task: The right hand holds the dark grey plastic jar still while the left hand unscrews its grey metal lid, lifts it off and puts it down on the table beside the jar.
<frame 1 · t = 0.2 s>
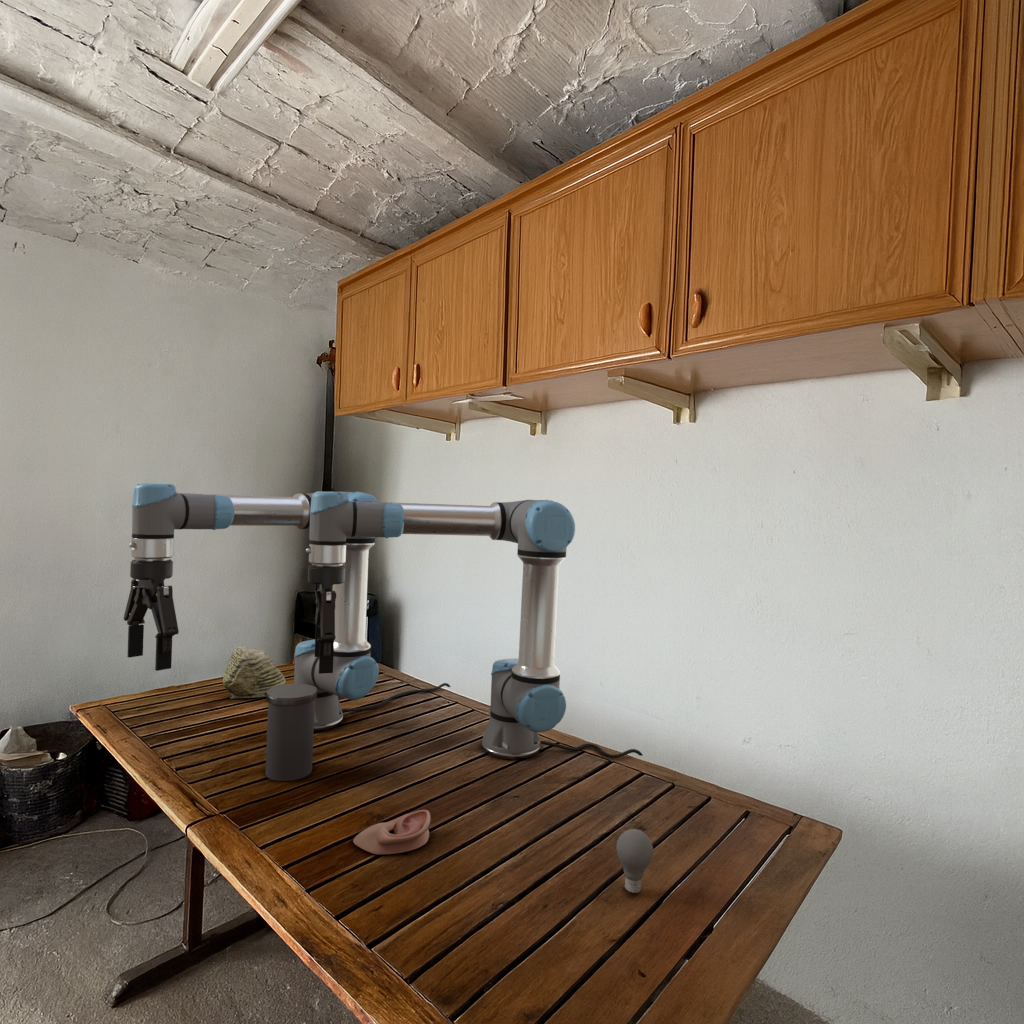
left hand: (148, 662, 129), 28 cm above the table, tool pointing down, fingers open, 13 cm apart
right hand: (323, 664, 134), 28 cm above the table, tool pointing down, fingers open, 13 cm apart
lid: (292, 692, 145), point 18 cm above the table, screwed on, not yet turned
fossil: (254, 694, 198), on the table
light bulb: (632, 891, 106), on the table
jar: (289, 771, 145), on the table
anatomical model: (392, 839, 118), on the table
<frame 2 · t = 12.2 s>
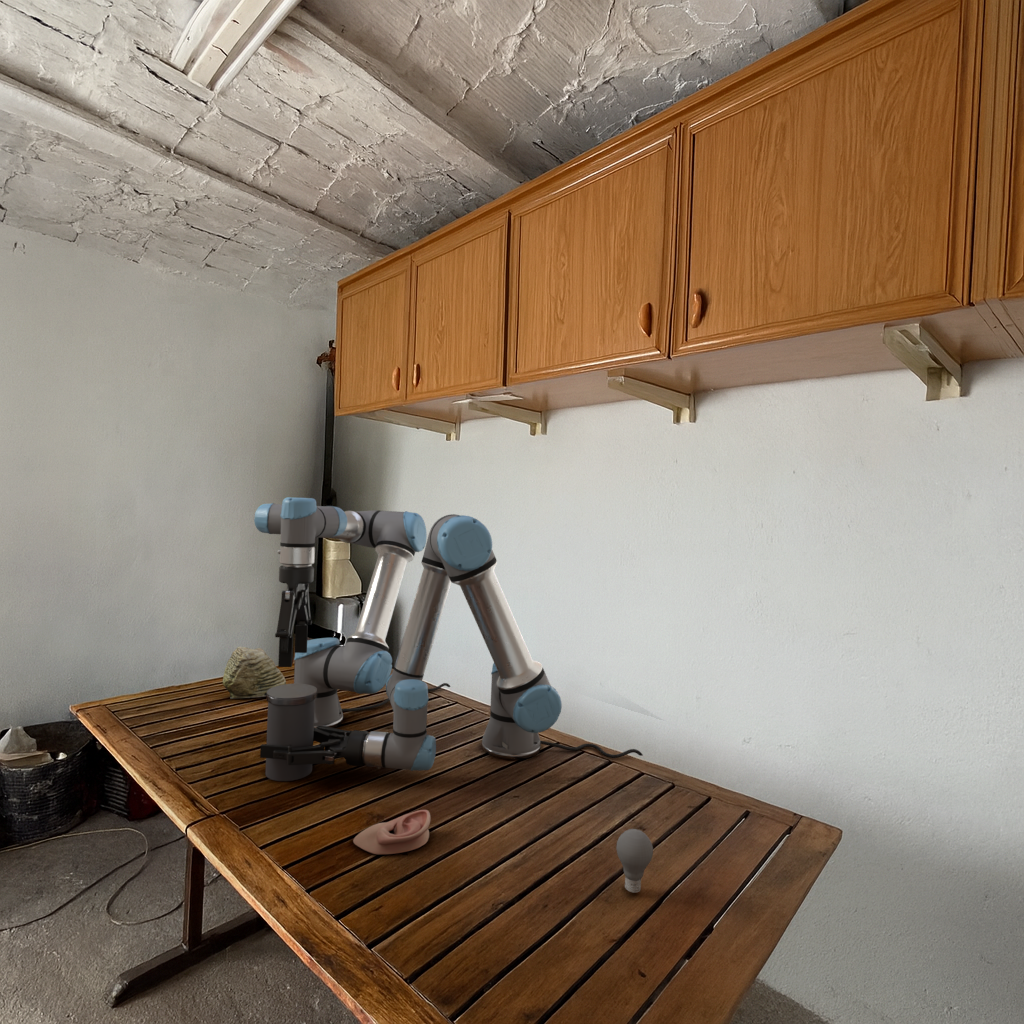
left hand: (293, 659, 145), 26 cm above the table, tool pointing down, fingers open, 12 cm apart
right hand: (272, 741, 145), 7 cm above the table, tool horizontal, fingers closed on jar, 10 cm apart
jar: (289, 771, 145), on the table, touching right hand
everything else where it was.
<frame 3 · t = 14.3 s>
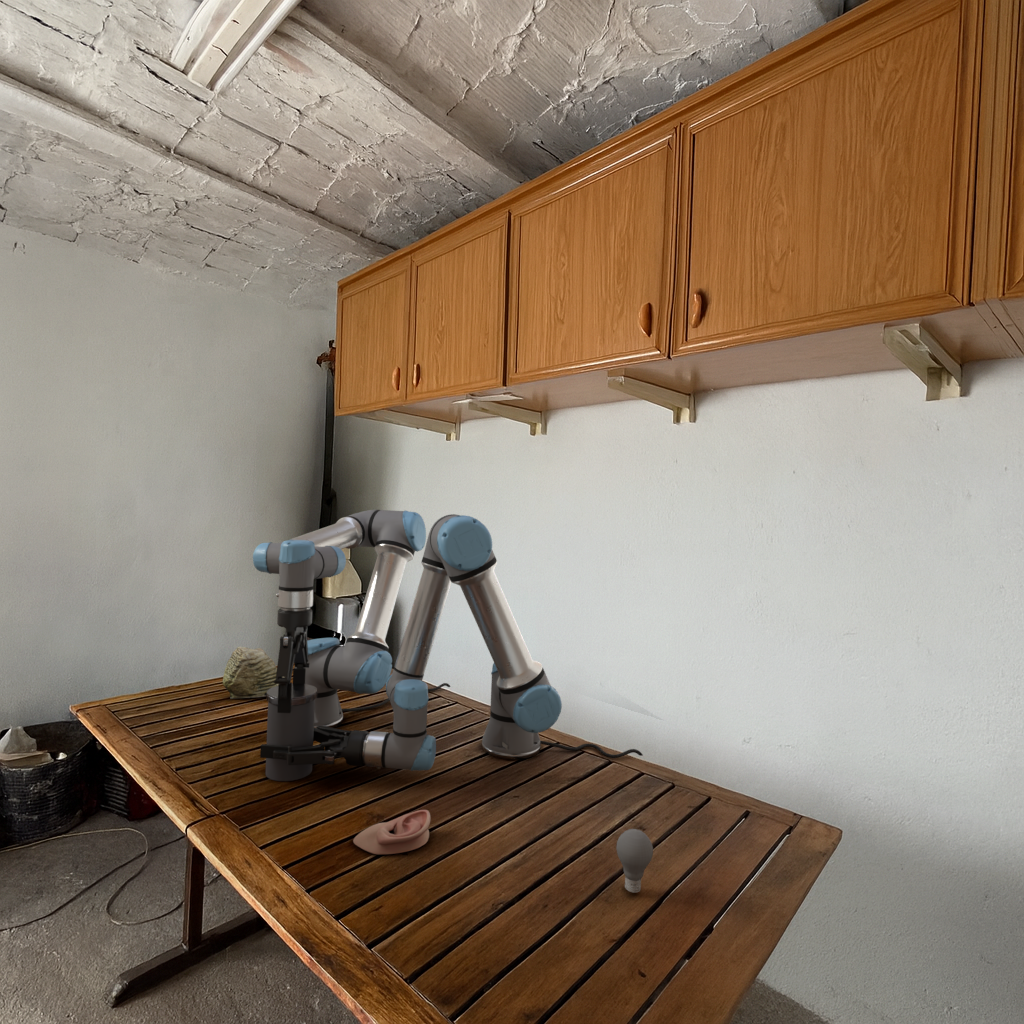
left hand: (291, 703, 145), 16 cm above the table, tool pointing down, fingers closed on lid, 11 cm apart
right hand: (272, 741, 145), 7 cm above the table, tool horizontal, fingers closed on jar, 10 cm apart
lid: (292, 692, 145), point 18 cm above the table, screwed on, not yet turned, touching left hand
jar: (289, 771, 145), on the table, touching right hand
everything else where it was.
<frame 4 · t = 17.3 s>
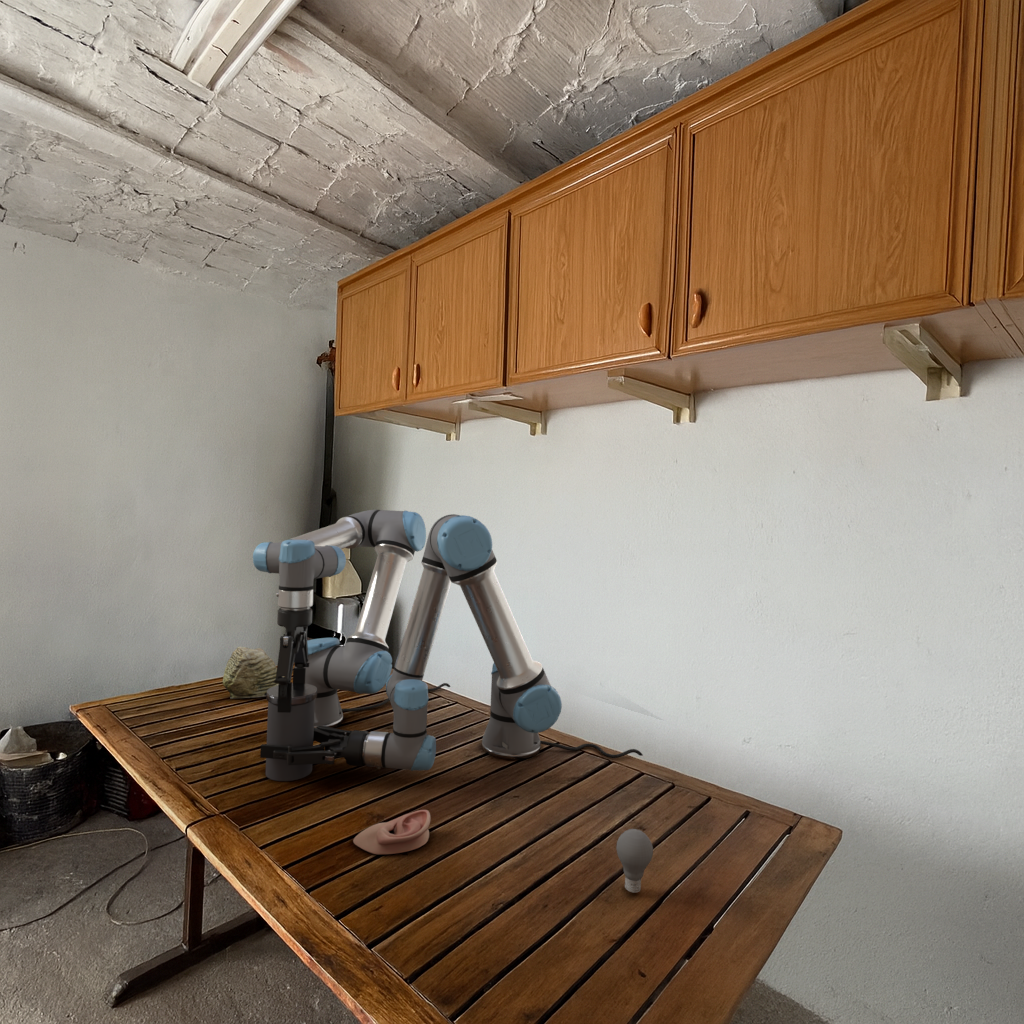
left hand: (291, 703, 145), 16 cm above the table, tool pointing down, fingers closed on lid, 11 cm apart
right hand: (272, 741, 145), 7 cm above the table, tool horizontal, fingers closed on jar, 10 cm apart
lid: (292, 691, 145), point 18 cm above the table, turned 88° so far, risen 0.1 cm, still on its thread, touching left hand
jar: (289, 771, 145), on the table, touching right hand
everything else where it was.
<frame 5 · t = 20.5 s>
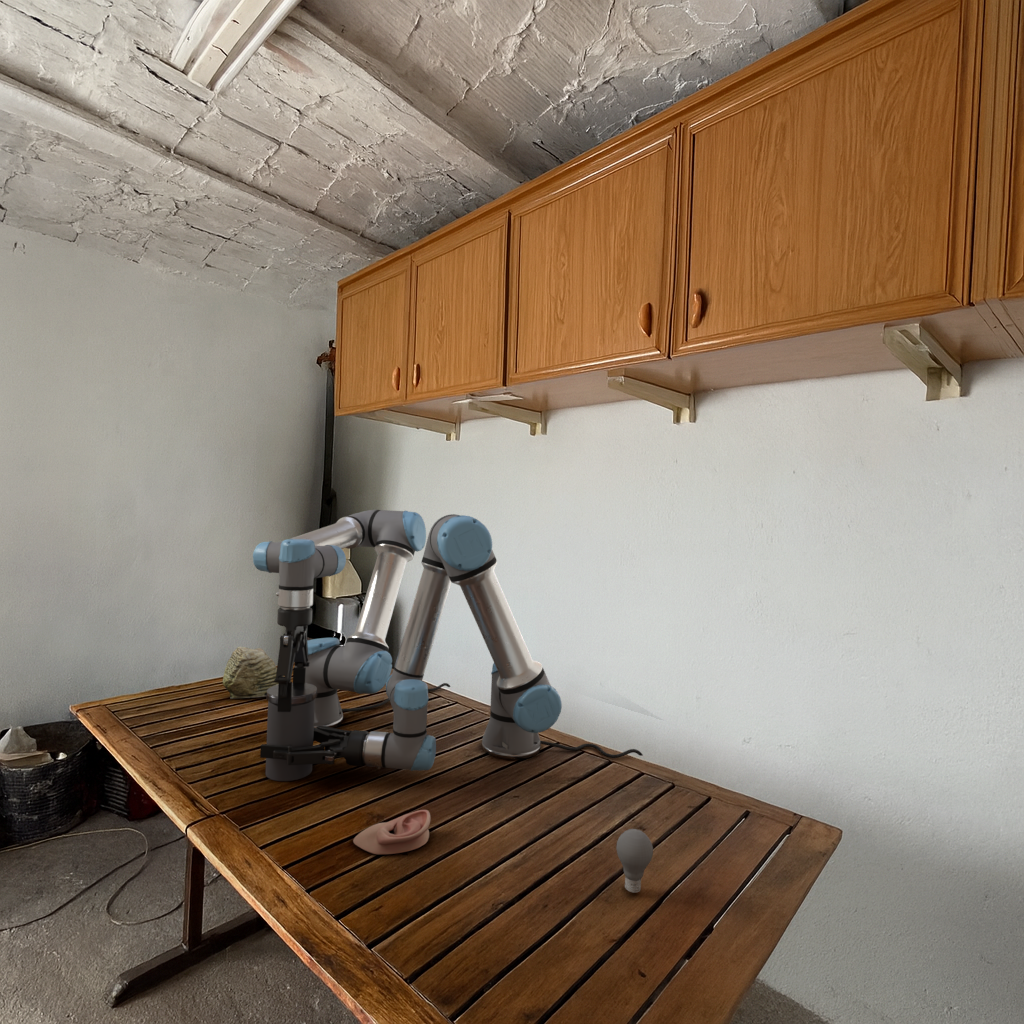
left hand: (291, 702, 145), 16 cm above the table, tool pointing down, fingers closed on lid, 11 cm apart
right hand: (272, 741, 145), 7 cm above the table, tool horizontal, fingers closed on jar, 10 cm apart
lid: (292, 691, 145), point 19 cm above the table, turned 176° so far, risen 0.2 cm, still on its thread, touching left hand
jar: (289, 771, 145), on the table, touching right hand
everything else where it was.
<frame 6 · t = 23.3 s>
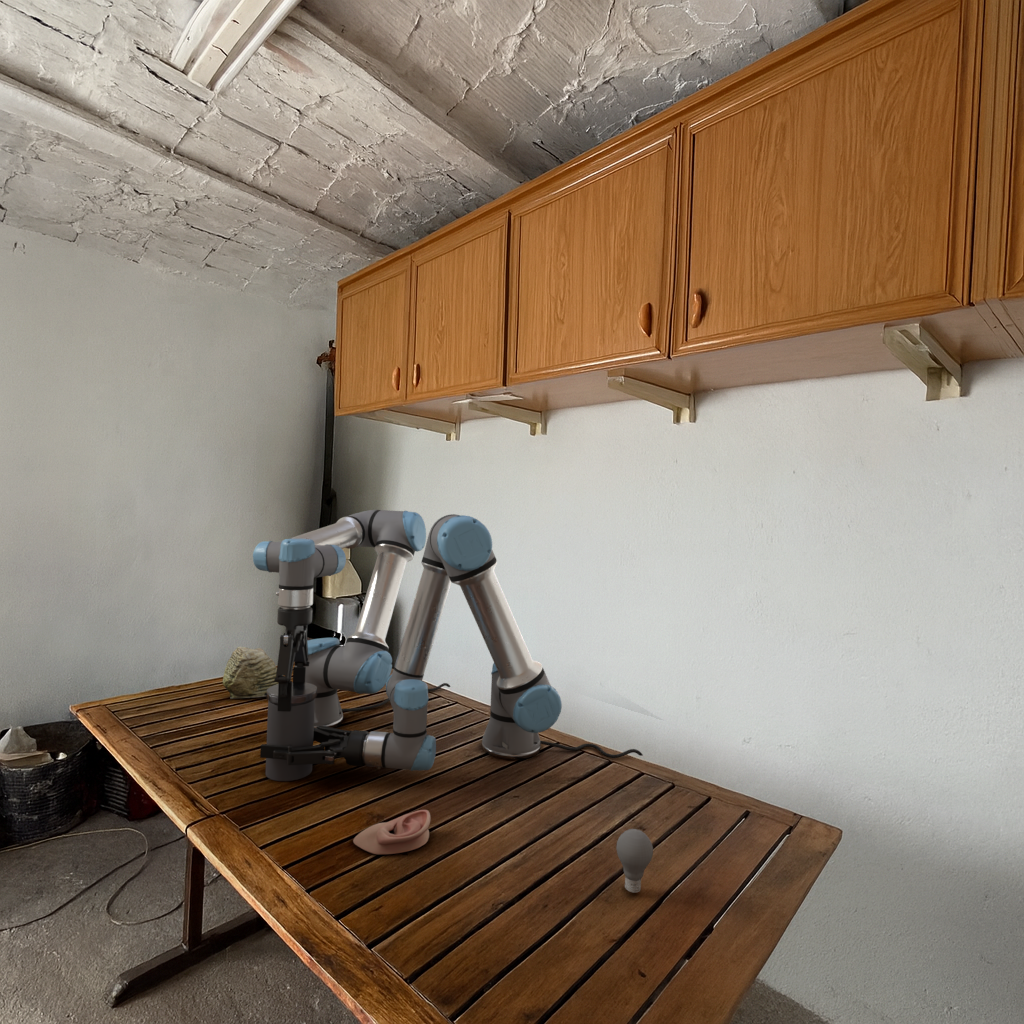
left hand: (291, 702, 145), 16 cm above the table, tool pointing down, fingers closed on lid, 11 cm apart
right hand: (272, 741, 145), 7 cm above the table, tool horizontal, fingers closed on jar, 10 cm apart
lid: (292, 690, 145), point 19 cm above the table, turned 264° so far, risen 0.3 cm, still on its thread, touching left hand
jar: (289, 771, 145), on the table, touching right hand
everything else where it was.
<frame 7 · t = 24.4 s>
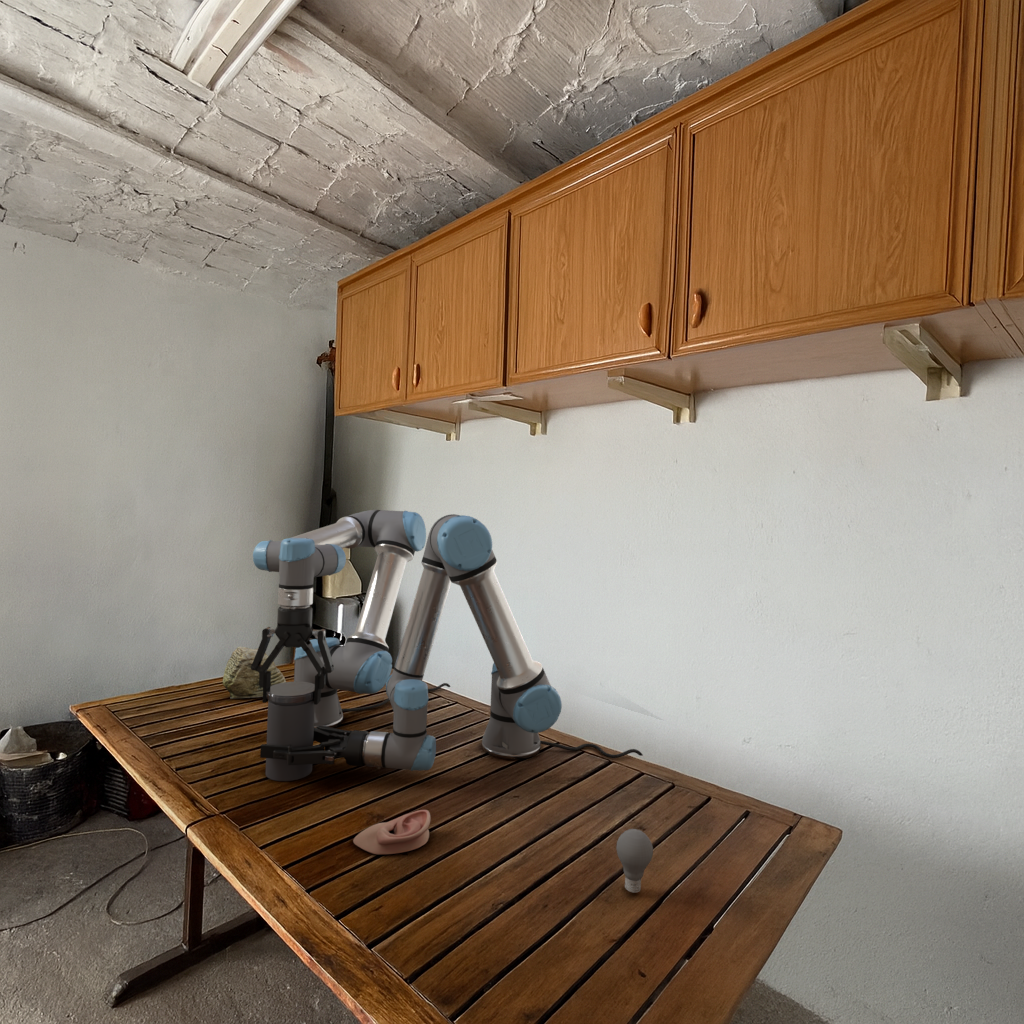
left hand: (291, 701, 145), 16 cm above the table, tool pointing down, fingers closed on lid, 11 cm apart
right hand: (272, 741, 145), 7 cm above the table, tool horizontal, fingers closed on jar, 10 cm apart
lid: (292, 689, 145), point 19 cm above the table, off its thread, touching left hand
jar: (289, 771, 145), on the table, touching right hand
everything else where it was.
when the left hand's fingers open (0 cm above the table, at t = 29.6 s): lid drops 2 cm, point 1 cm above the table.
when the right hand's fingers open (7 cm above the table, at t = 30.6 s): jar stays where it is, on the table.
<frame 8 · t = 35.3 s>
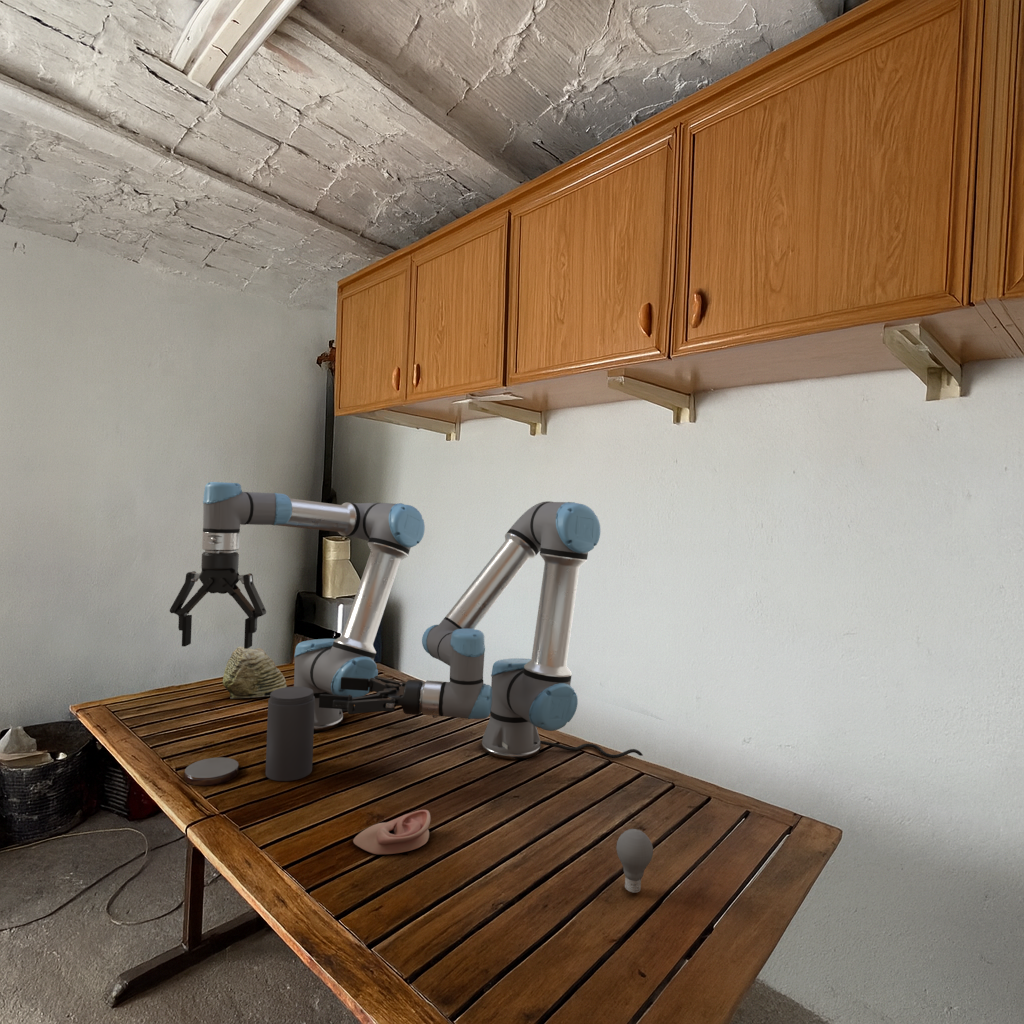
left hand: (217, 646, 141), 29 cm above the table, tool pointing down, fingers open, 13 cm apart
right hand: (330, 691, 144), 19 cm above the table, tool horizontal, fingers open, 13 cm apart
lid: (212, 768, 142), point 1 cm above the table, off its thread
jar: (289, 771, 145), on the table
everything else where it was.
at the end: lid came off its thread; lid point 1.4 cm above the table; the left hand is holding nothing; the right hand is holding nothing; jar tilted 0°; jar moved 0.0 cm from its start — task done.
